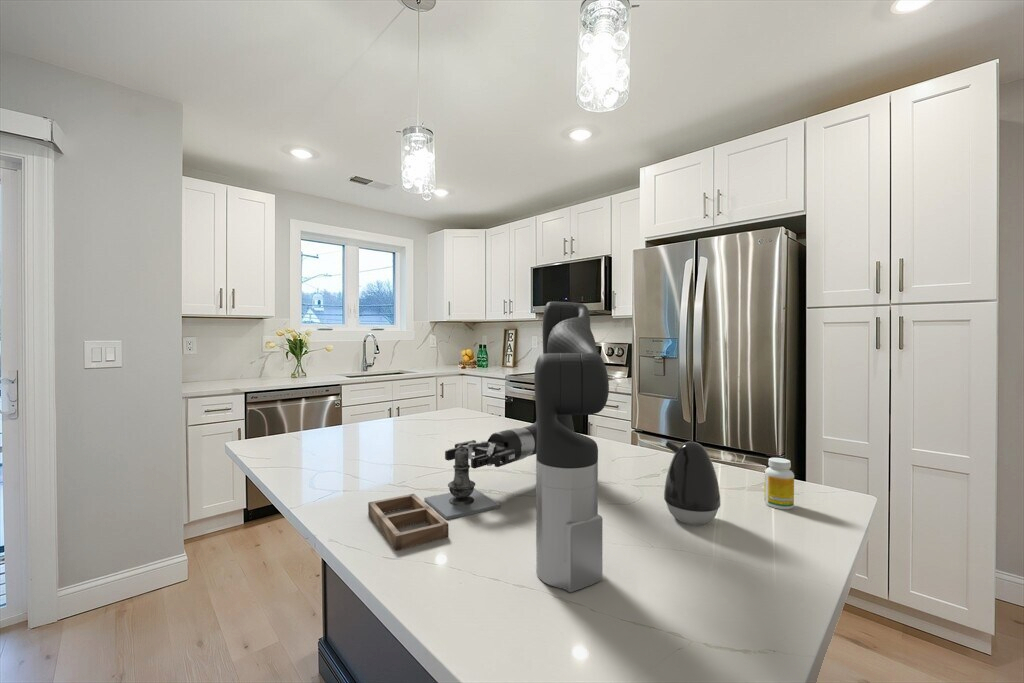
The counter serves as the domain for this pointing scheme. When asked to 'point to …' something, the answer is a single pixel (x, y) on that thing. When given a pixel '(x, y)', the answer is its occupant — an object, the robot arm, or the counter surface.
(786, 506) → the supplement bottle
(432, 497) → the slate tile
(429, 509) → the spice caddy
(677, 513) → the pump dispenser
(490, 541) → the counter surface
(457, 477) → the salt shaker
